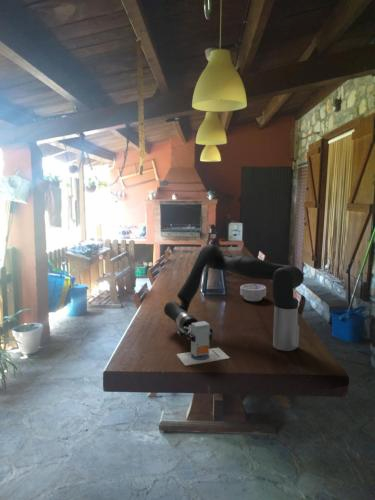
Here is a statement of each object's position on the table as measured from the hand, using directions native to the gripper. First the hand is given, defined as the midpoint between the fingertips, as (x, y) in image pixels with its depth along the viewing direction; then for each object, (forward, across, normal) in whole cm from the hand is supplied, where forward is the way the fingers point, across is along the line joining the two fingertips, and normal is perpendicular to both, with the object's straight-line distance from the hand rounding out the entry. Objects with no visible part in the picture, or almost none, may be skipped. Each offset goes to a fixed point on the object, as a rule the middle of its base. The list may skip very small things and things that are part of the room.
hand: (202, 338), depth 137 cm
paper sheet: (-2, +1, +8) cm, 9 cm away
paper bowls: (-64, +59, +9) cm, 88 cm away
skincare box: (-2, 0, +7) cm, 8 cm away
